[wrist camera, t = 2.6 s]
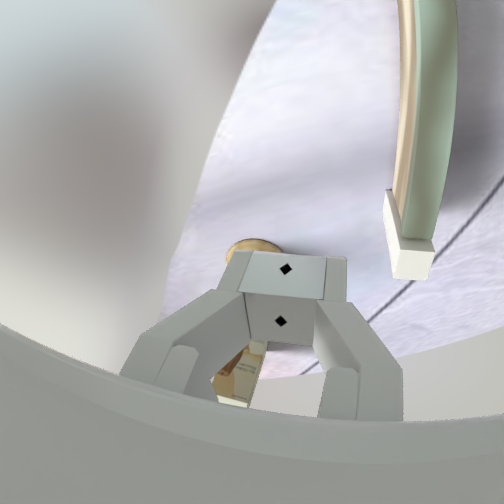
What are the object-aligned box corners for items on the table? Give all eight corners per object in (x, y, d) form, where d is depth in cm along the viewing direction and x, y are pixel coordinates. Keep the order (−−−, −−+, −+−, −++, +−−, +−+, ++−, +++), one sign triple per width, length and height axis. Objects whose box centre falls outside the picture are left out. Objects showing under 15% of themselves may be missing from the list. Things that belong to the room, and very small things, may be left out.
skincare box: (268, 337, 49) (250, 404, 40) (266, 351, 52) (249, 414, 43) (230, 329, 50) (206, 393, 41) (230, 343, 53) (208, 404, 44)
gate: (420, -20, 15) (450, -39, 9) (413, 192, 28) (431, 239, 22) (391, -25, 15) (412, -48, 9) (389, 190, 28) (402, 236, 22)
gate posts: (412, -60, 13) (445, -96, 5) (408, 217, 31) (426, 280, 23) (380, -65, 13) (399, -107, 6) (382, 214, 31) (393, 278, 24)
